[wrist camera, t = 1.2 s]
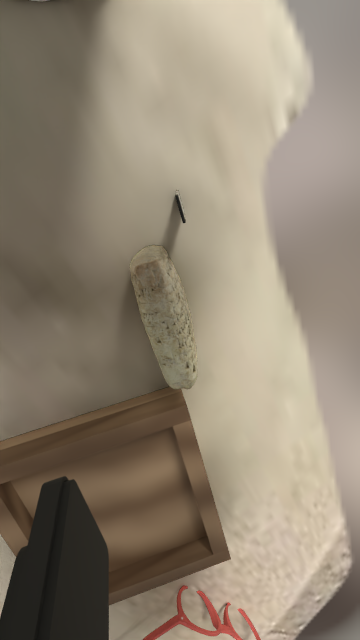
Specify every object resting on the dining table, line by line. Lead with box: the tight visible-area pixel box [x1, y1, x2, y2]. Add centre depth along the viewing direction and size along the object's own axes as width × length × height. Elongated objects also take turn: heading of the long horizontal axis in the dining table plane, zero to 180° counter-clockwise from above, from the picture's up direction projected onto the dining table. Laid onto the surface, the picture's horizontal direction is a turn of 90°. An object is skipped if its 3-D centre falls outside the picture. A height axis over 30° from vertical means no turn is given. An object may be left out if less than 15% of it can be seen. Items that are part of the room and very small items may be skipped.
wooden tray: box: [0, 387, 231, 605], centre depth 30 cm, size 19×17×3 cm
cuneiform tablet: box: [129, 190, 197, 390], centre depth 23 cm, size 7×4×12 cm
